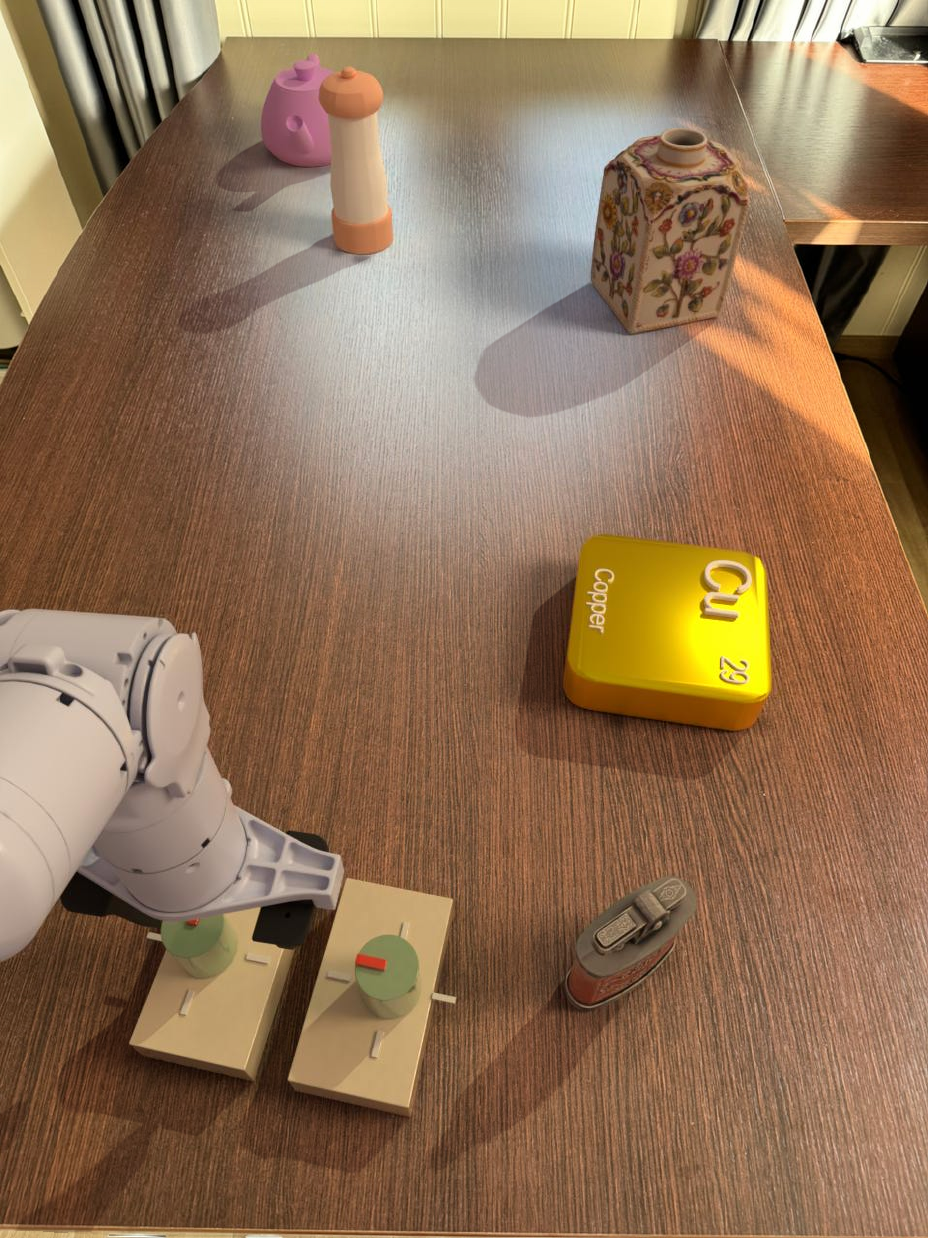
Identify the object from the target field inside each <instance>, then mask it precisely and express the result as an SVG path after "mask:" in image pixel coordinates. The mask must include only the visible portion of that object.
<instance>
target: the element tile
mask: <svg viewBox="0 0 928 1238" xmlns="http://www.w3.org/2000/svg"><path fill="white" fill-rule="evenodd" d="M768 581H769V580H768V571H767V568H766V566H765V564H764V562H763V561H762V560H761V559H760V558H759V557H758V556H756V555H754V554H752V553H749V552H747V551H743V550H737V549H729V548H721V547H715V546H714V547H713V546H705V545H698V544H689V543H681V542H675V541H668V540H660V539H659V540H658V539H653V538H652V539H651V538H643V537H635V536H629V535H619V534H611V533H600V534H599V533H598V534H593V535H591V536H590V537H588V538H587V539H585V541H584V542H583V544H582V545H581V548H580V551H579V557H578V564H577V569H576V576H575V583H574V584H575V586H574V590H573V591H574V592H573V600H572V607H571V616H570V623H569V631H568V637H567V638H568V639H567V648H566V656H565V664H564V670H563V677H562V678H563V679H562V685H563V691H564V694H565V696H566V698H567V699H568V700H569V701H570V702H571V703H572V704H573V705H575V706H577V707H579V708H581V709H584V710H588V711H593V712H602V713H608V714H614V715H615V714H616V715H622V716H629V717H635V718H642V719H648V720H656V721H661V722H662V721H663V722H670V723H677V724H682V725H690V726H697V727H703V728H710V729H715V730H716V729H717V730H723V731H730V732H738V731H743V730H746V729H749V728H750V727H751V726H753V725H755V723H756V721H757V719H758V718H759V715H760V714H761V711H762V709H763V708H764V705H765V704H766V701H767V699H768V698H769V696H770V694H771V691H772V688H773V675H772V674H773V673H772V672H773V671H772V651H771V631H770V630H771V629H770V606H769V585H768V583H769V582H768Z"/></svg>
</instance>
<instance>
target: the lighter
mask: <svg viewBox="0 0 928 1238" xmlns="http://www.w3.org/2000/svg"><path fill="white" fill-rule="evenodd" d="M697 908H698V899H697V895H696V893H695V891H694V889H693V887H692V886H691V884H689V883H688V882H686V880H684V879H682V878H680V877H678V876H674V875H667V876H663V877H660V878H658V879H656V880H654V881H651V882H649V883H647V884H644V885H641V886H639V887H638V888H636V889H635V890H633V891H631V892H629V893H627V894H626V895H624V896H623V897H621V898H619V899H618V900H616V901H615V902H614V903H613V904H611V905H610V906H609V907H607V909H605V910H604V911H603V912H602V913H600V914H599V915H598V916H597V917H596V918H595V919H594V920H593V921H592V922H591V923H590V924H589V925H588V926H587V927H586V929H584V931H583V932H581V934H580V935H579V937H578V939H577V940H576V944H575V949H574V955H575V957H574V962H573V964H572V967H571V968H570V969H569V971H568V972H567V974H566V976H565V979H564V984H563V988H564V993H565V995H566V998H567V999H568V1002H569V1003H570V1004H571V1005H572V1006H573V1007H574V1008H576V1009H577V1010H580V1011H582V1012H586V1013H589V1012H594V1011H596V1010H598V1009H601V1008H603V1007H605V1006H607V1005H609V1004H612V1003H613V1002H616V1001H618V1000H620V999H621V998H622V997H624V996H626V995H627V994H630V993H631V992H632V991H634V990H635V989H637V988H638V987H639V986H640V985H642V984H643V983H644V982H645V981H647V980H648V979H649V978H650V977H651V976H653V974H654V973H655V972H657V970H658V969H660V967H661V965H662V964H663V963H665V961H666V960H667V959H668V957H669V956H670V955H671V954H672V952H673V950H674V948H675V946H676V941H677V940H676V939H677V936H678V934H679V933H680V931H681V930H682V929H683V928H684V927H685V926H686V925H687V924H688V922H689V921H690V920H691V919H692V918H693V916H694V914H695V913H696V910H697Z"/></svg>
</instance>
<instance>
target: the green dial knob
mask: <svg viewBox="0 0 928 1238" xmlns="http://www.w3.org/2000/svg"><path fill="white" fill-rule="evenodd" d="M160 935H161V939H162V942H161V943H162V945H163V947H164V948H165V950H166V949H167V950H168V952H169V953H170V954H171V955H172V957H173V958H174V959H175V960H176V962H177V963H178V964H179V965H180V966H181V968H182V969H183V970H184V971H185V972H186V973H187V974H189V975H190V976H192V977H195V978H210V977H213V976H216V975H218V974H220V973H221V972H223V971H224V970H225V969H226V968H227V967H228V966H229V965H230V964H231V962H232V961H233V959H234V957H235V955H236V951H237V946H238V941H237V935H236V933H235V931H234V929H233V927H232V926H231V924H230V922H229V920H228V919H227V917H226V915H225V914H221V915H216V916H211V917H206V918H200V919H195V920H190V921H182V922H169V921H162V923H161V927H160Z"/></svg>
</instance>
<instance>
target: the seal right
mask: <svg viewBox="0 0 928 1238" xmlns="http://www.w3.org/2000/svg"><path fill="white" fill-rule="evenodd" d="M355 977H356V980H357V983H358V987H359V990H360V993H361V996H362V999H363V1002H364V1004H365V1006H366V1007H367V1008H368V1010H369V1011H370V1012H371V1013H373V1014H374V1015H376V1016H378V1017H380V1018H384V1019H396V1018H399V1017H402V1016H404V1015H406V1014H407V1013H409V1012H410V1011H411V1010H412V1009H413V1008H414V1006H415V1005H416V1004H417V1002H418V1000H419V998H420V994H421V987H422V985H421V975H420V967H419V960H418V956H417V953H416V951H415V949H414V948H413V946H412V945H411V944H410V943H409V942H408V941H407V940H405V939H404V938H402V937H399V936H396V935H381V936H378V937H375V938H373V939H371V940H370V941H368V942H367V943H366V944H365V945H364V946H363V947H362V949H361V950H360V952H359V954H357V957H356V960H355Z"/></svg>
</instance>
